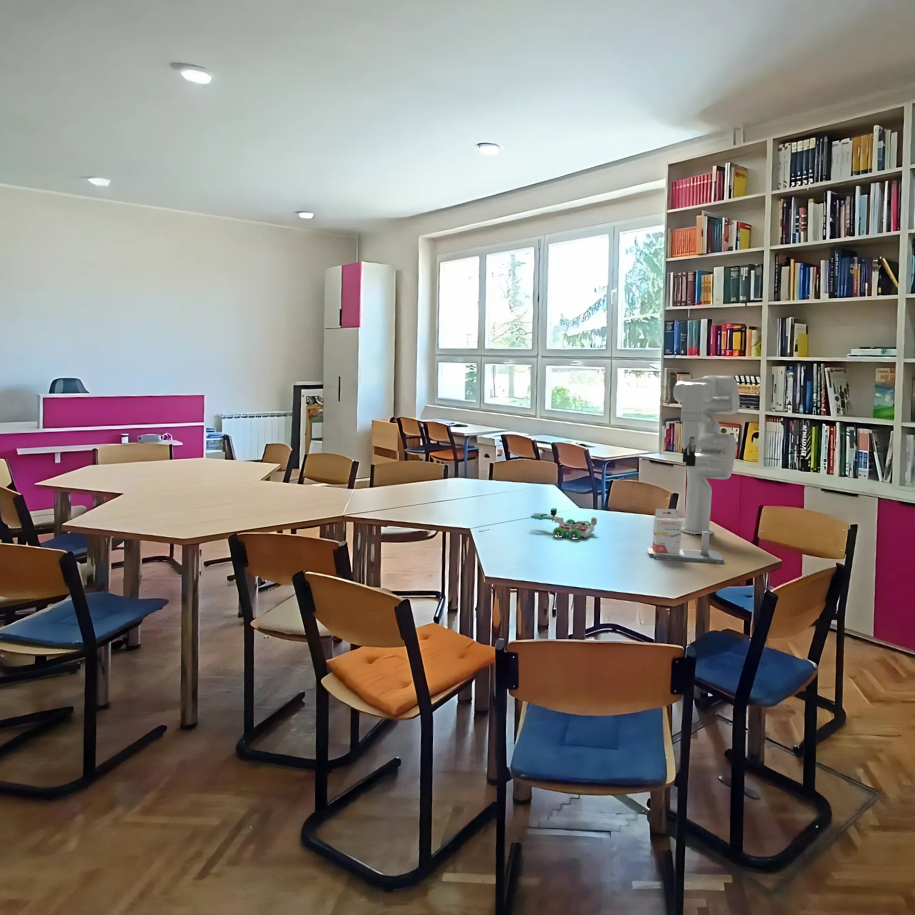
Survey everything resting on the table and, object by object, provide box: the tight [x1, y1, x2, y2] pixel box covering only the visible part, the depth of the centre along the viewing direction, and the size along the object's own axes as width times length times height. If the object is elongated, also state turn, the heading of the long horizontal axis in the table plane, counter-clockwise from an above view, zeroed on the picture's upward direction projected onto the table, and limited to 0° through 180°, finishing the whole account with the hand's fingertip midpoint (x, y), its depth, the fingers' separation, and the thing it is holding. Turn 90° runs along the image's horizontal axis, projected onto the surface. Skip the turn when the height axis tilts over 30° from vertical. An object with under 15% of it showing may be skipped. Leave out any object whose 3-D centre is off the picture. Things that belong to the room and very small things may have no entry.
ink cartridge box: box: [651, 508, 683, 553], centre depth 262 cm, size 9×5×15 cm, turn 89°
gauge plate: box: [646, 531, 725, 564], centre depth 261 cm, size 12×24×9 cm, turn 80°
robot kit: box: [530, 507, 598, 540], centre depth 293 cm, size 19×25×9 cm
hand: (688, 464), depth 274 cm, fingers open, 9 cm apart
